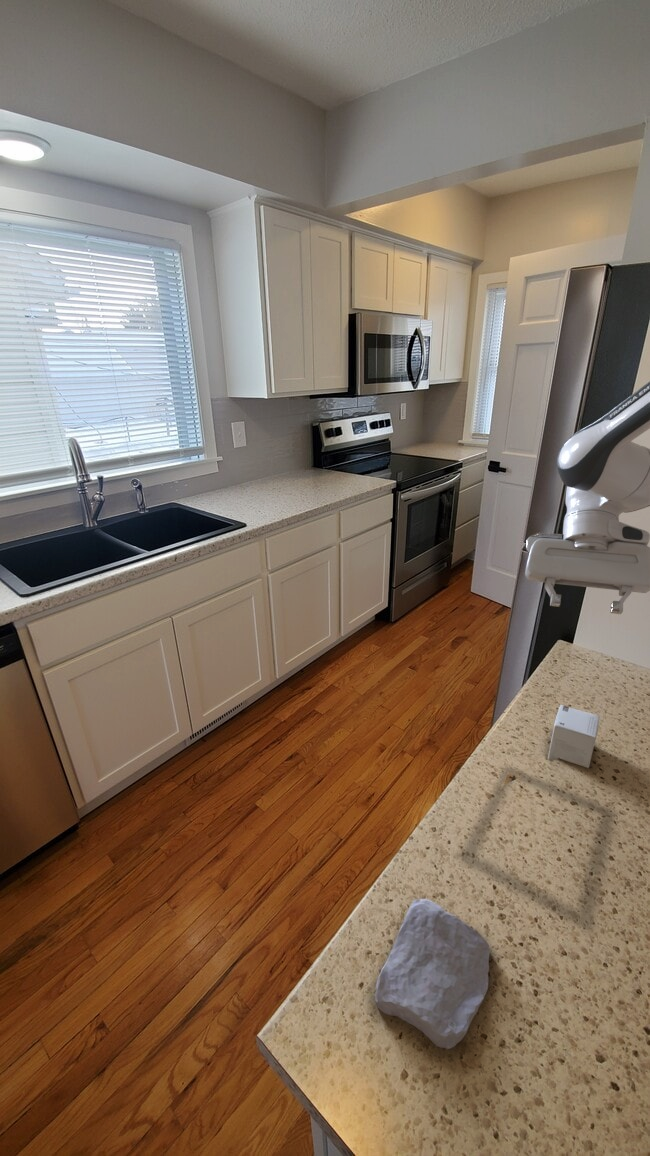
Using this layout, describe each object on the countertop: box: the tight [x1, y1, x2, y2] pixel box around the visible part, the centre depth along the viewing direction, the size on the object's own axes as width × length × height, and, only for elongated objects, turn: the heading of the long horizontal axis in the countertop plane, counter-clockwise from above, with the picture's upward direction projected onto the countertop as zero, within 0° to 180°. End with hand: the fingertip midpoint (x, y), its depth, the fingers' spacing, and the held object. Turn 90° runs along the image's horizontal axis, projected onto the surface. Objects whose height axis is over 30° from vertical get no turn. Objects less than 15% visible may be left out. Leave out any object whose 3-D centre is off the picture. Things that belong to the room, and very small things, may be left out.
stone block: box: [374, 898, 491, 1050], centre depth 52 cm, size 12×5×10 cm
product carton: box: [547, 704, 600, 769], centre depth 80 cm, size 6×6×7 cm
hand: (585, 609), depth 83 cm, fingers open, 8 cm apart
